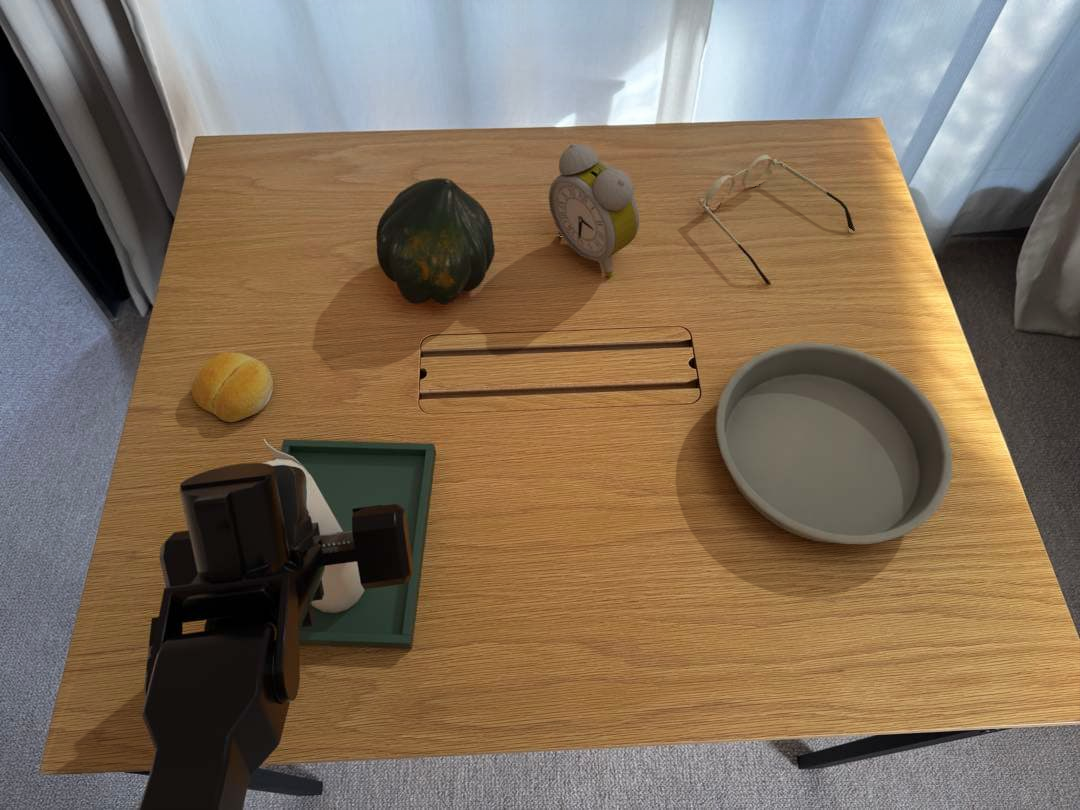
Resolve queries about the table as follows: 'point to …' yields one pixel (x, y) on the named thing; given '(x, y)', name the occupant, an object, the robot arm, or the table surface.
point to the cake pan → (833, 444)
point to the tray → (345, 484)
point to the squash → (435, 242)
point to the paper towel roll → (337, 578)
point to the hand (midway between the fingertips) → (311, 520)
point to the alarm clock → (593, 205)
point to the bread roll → (232, 386)
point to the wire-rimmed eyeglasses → (719, 182)
